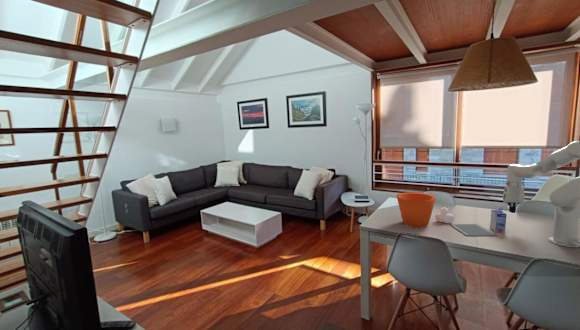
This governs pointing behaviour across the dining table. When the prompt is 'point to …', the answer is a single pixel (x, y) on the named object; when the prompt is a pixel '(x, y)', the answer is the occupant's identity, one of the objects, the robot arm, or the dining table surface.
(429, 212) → the flowerpot
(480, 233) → the mat
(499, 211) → the ink cartridge box
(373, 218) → the dining table surface
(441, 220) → the white lumpy piece
